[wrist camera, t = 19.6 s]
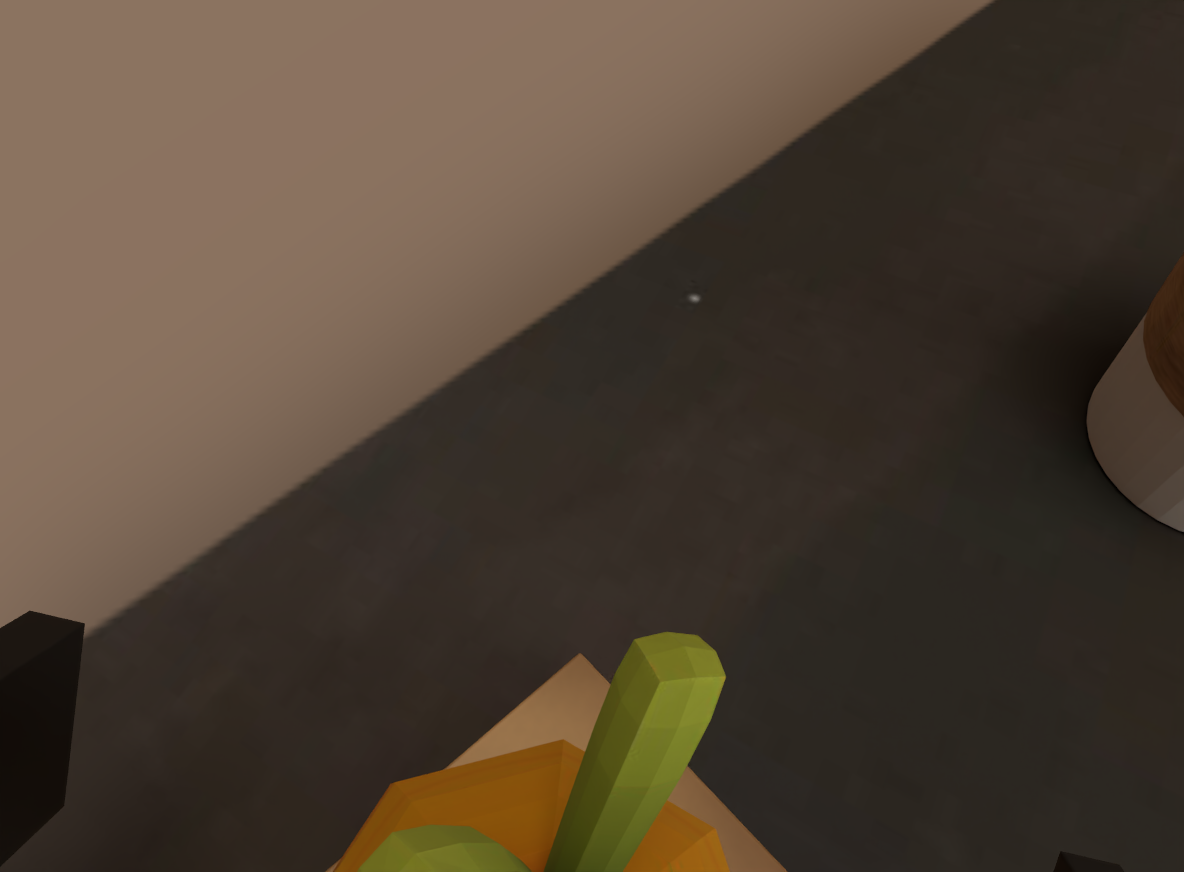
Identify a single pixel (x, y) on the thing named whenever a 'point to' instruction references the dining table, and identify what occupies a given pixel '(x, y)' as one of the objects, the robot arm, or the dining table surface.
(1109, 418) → the coffee cup
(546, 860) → the carrot
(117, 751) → the dining table surface
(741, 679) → the dining table surface
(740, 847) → the board
